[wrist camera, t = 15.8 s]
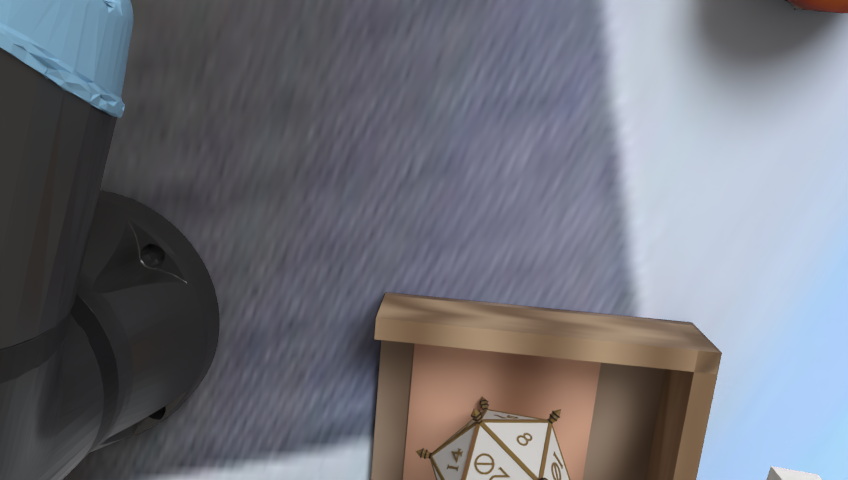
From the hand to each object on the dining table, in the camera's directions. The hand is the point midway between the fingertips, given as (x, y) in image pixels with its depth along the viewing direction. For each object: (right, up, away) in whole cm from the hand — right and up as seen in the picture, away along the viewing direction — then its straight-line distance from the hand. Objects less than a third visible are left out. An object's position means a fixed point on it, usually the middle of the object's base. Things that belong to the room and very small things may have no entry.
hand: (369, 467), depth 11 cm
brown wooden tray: (+7, -8, +29) cm, 31 cm away
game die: (+5, -8, +29) cm, 30 cm away
